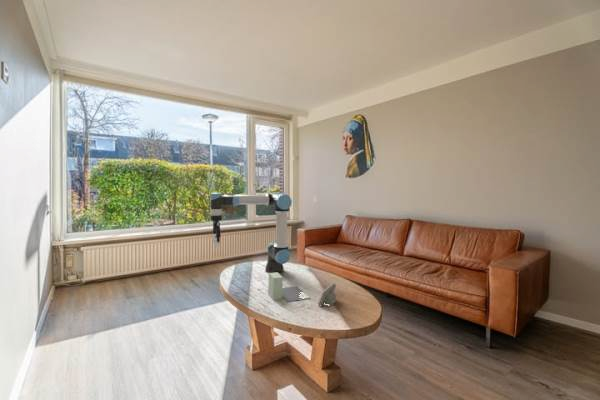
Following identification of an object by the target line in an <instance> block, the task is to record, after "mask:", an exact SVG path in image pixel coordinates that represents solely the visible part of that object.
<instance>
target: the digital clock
mask: <svg viewBox="0 0 600 400" xmlns="http://www.w3.org/2000/svg"><path fill="white" fill-rule="evenodd" d="M336 286H337V285H336V283H331V284H329V286H327V287H326V288H324V290H323V291H322V293H321V295H320V297H319V301H318V303H317V305H318V306H319V305H322V306H324V305H323V304H324V303H325V304H329V305H331V304H332V303H333V302H334V301H335V299H337V295H336V293H335V292H334V291H335V289H336ZM331 306H332V305H331Z"/></svg>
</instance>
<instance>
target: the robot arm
mask: <svg viewBox="0 0 600 400" xmlns="http://www.w3.org/2000/svg"><path fill="white" fill-rule="evenodd" d="M292 203H293V201H292V198H291V197H290V195H288V194H286V193H284V192H283V193H281V192H275V193H274V192H273V193H266V194H229V193H228V194H227V193H226V194H224V195H223V194H222V193H221V192H212V193H211V194H210V210H209V212H210V221H212V236H213V237H212V243H213V244H215V247H216V248H220V247H221V237H222V236H221V223H220V222H221V221H222V220H223V215H222V214H223V207H237V206H239V205H265V206H267V207H274V209H273V210H274V212H275V216H276V217H275V242H270V243H268V246H267V263H266V265H265V269H264V271H265V272H266V273H268V274H269V273H276V272H278V273H279V274H280V273H282V272H284V269H285V268H284V264H287V263H288V262H289V261H290V260H291V252H290V251H289V249H290V248H289V247H290V246H289V244H288V241H287V239H288V237H287V236H288V214H289V212H290V207H291V206H292Z"/></svg>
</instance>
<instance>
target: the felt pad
mask: <svg viewBox="0 0 600 400" xmlns="http://www.w3.org/2000/svg"><path fill="white" fill-rule="evenodd" d="M300 292H304V291H303V290H302V289H301V288H300V287H298V286H297V285H294V286H286V287H282V299H283V300H284V301H285V302H286V301H287V302H286V303H290V301H292V302H296V300H298V301H301V300H300V299H302V298H299V297H300V296H299V295H300V294H301V293H300ZM299 293H300V294H299Z"/></svg>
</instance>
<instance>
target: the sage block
mask: <svg viewBox="0 0 600 400" xmlns="http://www.w3.org/2000/svg"><path fill="white" fill-rule="evenodd" d="M283 279H284V278H283V276H282V275H281V274H280V273H278V272H276V273H269V272H268V282H267V283H268V288H267V290H268V291H267V292H268V293H267V294H268V296H269V297H270V298H271V299H272V300H273V301H276V299H277V300H282V299H283V297H282V288H284V287H283V285H284V284H283Z"/></svg>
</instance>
